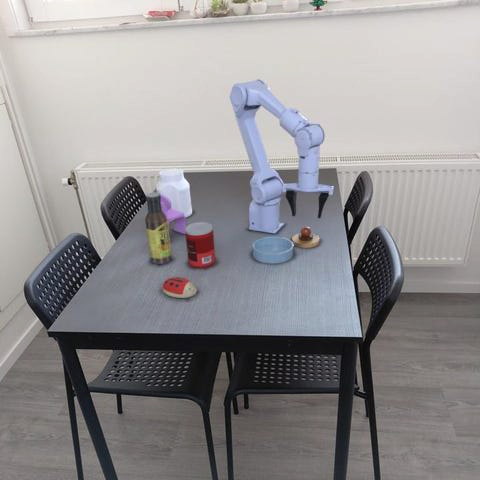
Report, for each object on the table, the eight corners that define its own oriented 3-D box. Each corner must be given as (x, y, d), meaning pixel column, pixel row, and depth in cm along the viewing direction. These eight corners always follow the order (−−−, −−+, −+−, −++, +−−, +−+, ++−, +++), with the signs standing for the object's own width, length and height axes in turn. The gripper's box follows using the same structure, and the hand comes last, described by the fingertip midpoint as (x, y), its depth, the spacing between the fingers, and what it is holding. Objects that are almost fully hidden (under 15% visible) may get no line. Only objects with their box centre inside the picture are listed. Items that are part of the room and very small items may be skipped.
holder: (287, 245, 147) (287, 238, 145) (297, 234, 153) (297, 228, 152) (314, 249, 143) (314, 242, 142) (322, 238, 150) (323, 231, 148)
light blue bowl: (246, 259, 140) (245, 250, 138) (262, 243, 149) (262, 234, 147) (284, 266, 135) (284, 256, 134) (299, 249, 144) (299, 240, 142)
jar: (157, 218, 169) (150, 176, 161) (163, 208, 177) (158, 167, 169) (189, 218, 168) (184, 176, 159) (194, 208, 176) (190, 167, 167)
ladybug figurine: (190, 302, 122) (189, 289, 120) (156, 296, 125) (154, 284, 123) (201, 289, 127) (200, 277, 125) (169, 283, 130) (167, 272, 128)
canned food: (219, 258, 141) (216, 223, 135) (209, 270, 135) (206, 234, 129) (195, 255, 144) (192, 220, 138) (184, 267, 137) (180, 231, 131)
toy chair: (190, 234, 156) (185, 189, 148) (169, 243, 151) (163, 197, 143) (173, 228, 161) (167, 184, 153) (152, 237, 156) (145, 191, 148)
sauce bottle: (167, 266, 139) (157, 199, 127) (147, 264, 140) (136, 198, 129) (176, 256, 144) (167, 191, 132) (157, 254, 145) (147, 190, 134)
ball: (302, 239, 146) (303, 229, 144) (298, 235, 148) (299, 225, 146) (312, 238, 146) (313, 228, 144) (308, 234, 149) (309, 224, 147)
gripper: (336, 167, 137) (333, 212, 145) (286, 165, 141) (286, 209, 149) (332, 175, 132) (329, 221, 139) (280, 172, 136) (280, 218, 143)
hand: (306, 216), depth 144 cm, fingers open, 7 cm apart
